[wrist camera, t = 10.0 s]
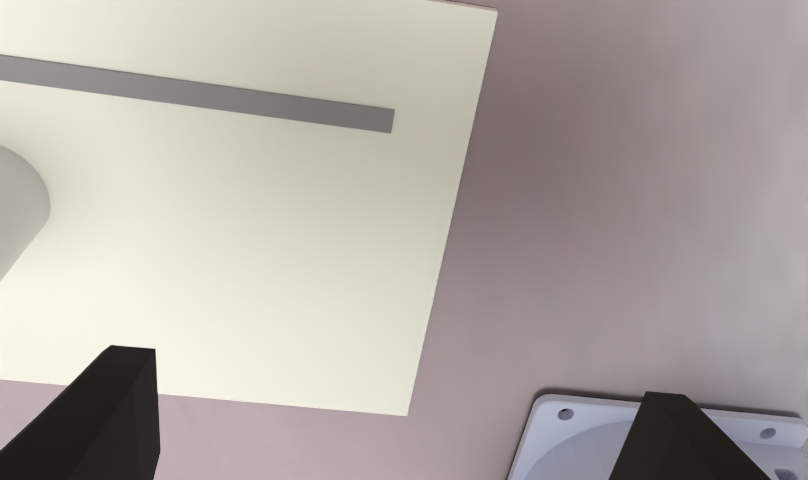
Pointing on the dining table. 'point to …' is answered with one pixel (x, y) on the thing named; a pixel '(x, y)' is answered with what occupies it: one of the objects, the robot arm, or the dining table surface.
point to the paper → (238, 189)
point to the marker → (19, 207)
